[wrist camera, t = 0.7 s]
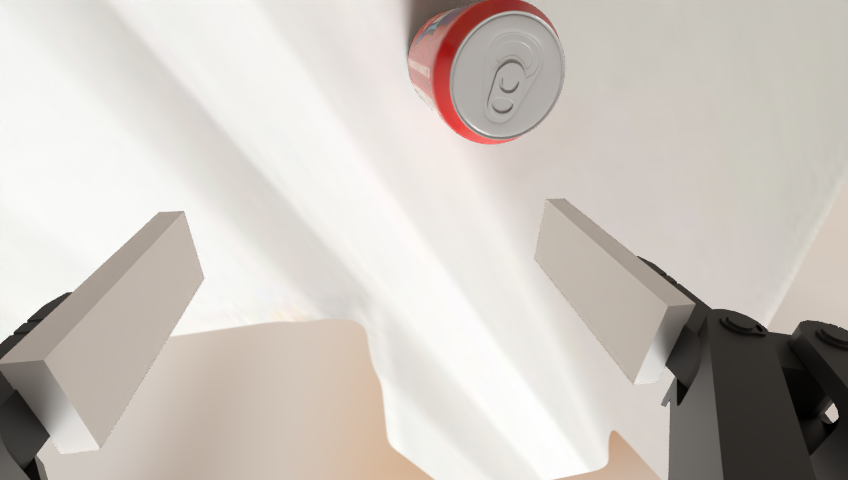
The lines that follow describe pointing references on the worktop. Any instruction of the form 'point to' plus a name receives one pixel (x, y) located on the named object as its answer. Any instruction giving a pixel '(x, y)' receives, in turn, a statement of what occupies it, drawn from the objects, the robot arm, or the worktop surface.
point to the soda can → (488, 68)
